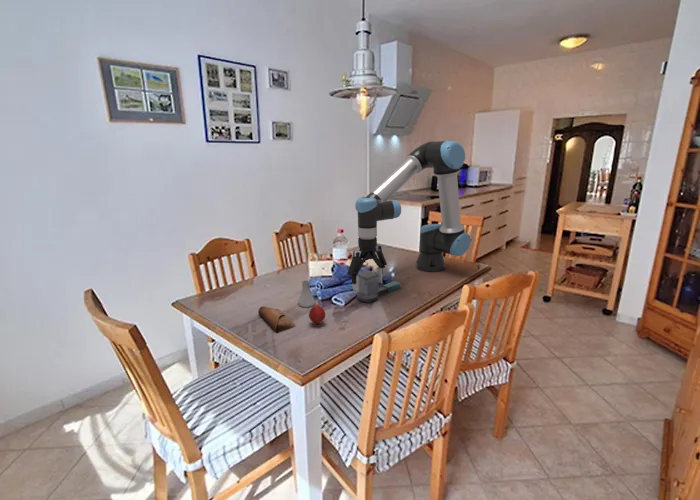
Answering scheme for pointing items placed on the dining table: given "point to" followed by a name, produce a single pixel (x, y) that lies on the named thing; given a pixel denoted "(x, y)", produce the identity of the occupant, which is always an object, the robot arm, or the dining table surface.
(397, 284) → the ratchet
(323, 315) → the onion
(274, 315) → the sunglasses case
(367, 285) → the rounded charcoal cube
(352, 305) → the dining table surface
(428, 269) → the robot arm
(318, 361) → the dining table surface
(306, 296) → the flask
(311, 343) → the dining table surface
